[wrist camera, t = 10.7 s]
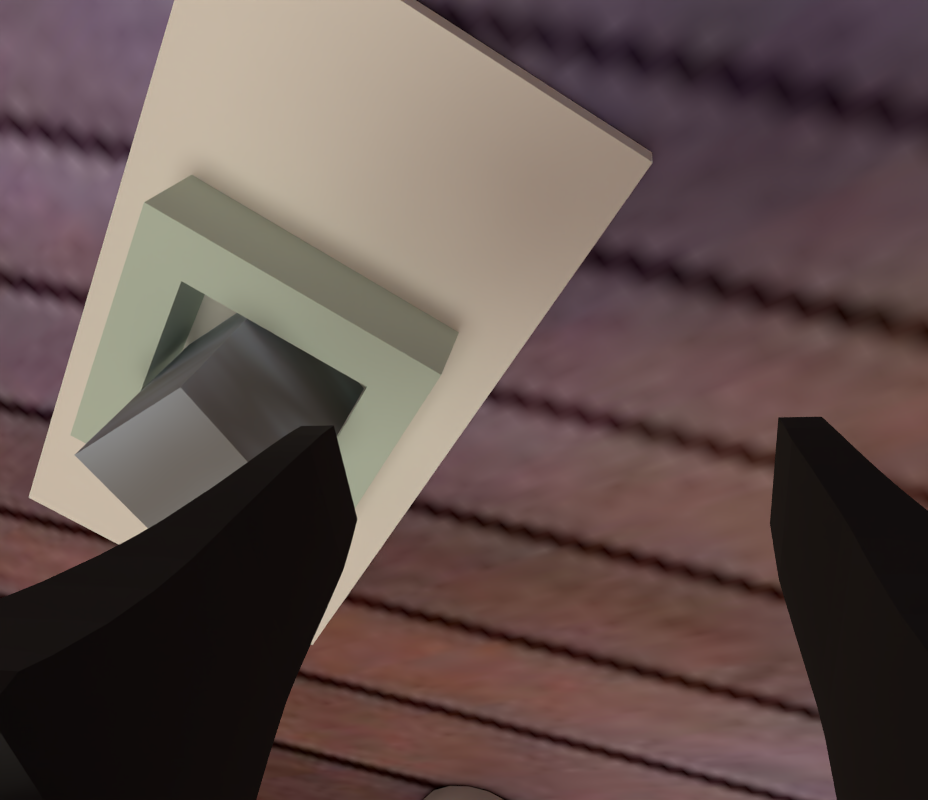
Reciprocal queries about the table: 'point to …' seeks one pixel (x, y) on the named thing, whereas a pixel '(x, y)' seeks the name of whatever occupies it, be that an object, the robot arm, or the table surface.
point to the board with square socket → (337, 231)
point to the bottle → (461, 794)
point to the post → (213, 416)
